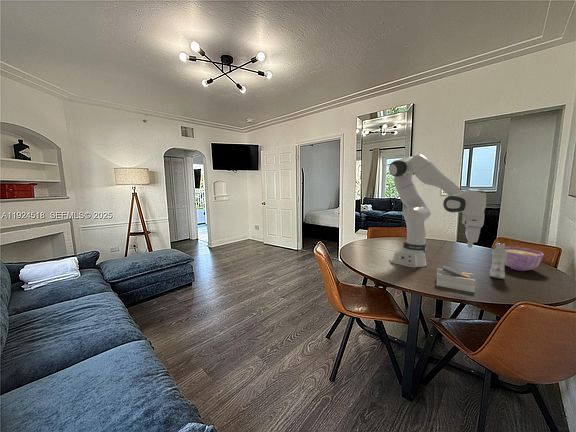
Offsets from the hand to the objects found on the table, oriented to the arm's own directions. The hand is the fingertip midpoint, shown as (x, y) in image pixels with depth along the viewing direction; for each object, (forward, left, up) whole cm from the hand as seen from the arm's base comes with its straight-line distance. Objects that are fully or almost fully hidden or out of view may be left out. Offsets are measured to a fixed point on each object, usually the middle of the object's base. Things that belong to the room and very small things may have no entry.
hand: (469, 246), depth 123 cm
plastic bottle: (+16, +20, -21) cm, 33 cm away
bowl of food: (+30, +46, -21) cm, 58 cm away
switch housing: (-5, -3, -21) cm, 22 cm away
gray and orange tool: (-5, -3, -15) cm, 16 cm away
